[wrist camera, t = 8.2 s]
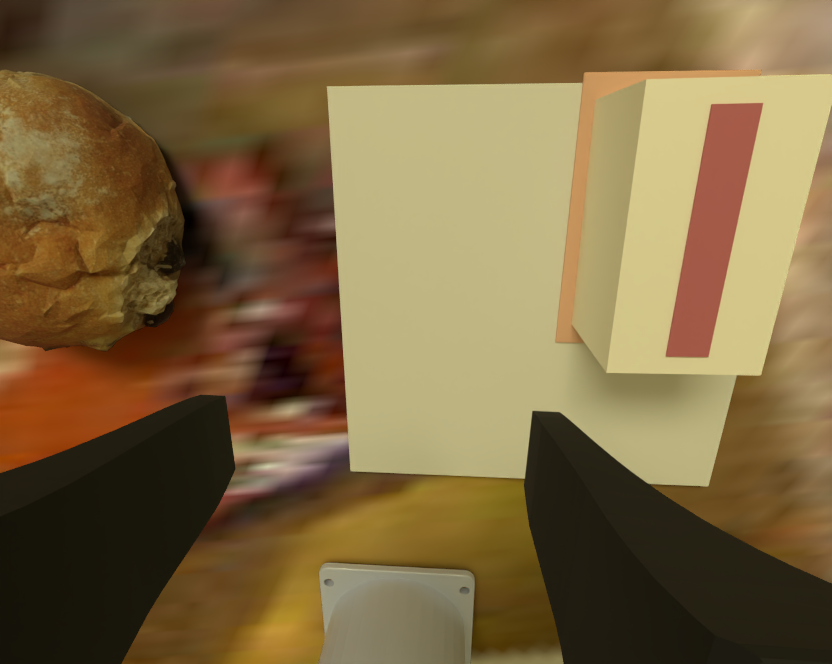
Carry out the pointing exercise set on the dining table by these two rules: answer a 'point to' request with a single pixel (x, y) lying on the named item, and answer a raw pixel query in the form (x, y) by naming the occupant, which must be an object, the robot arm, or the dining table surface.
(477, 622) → the dining table surface
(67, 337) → the bread roll
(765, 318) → the card box
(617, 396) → the mat
